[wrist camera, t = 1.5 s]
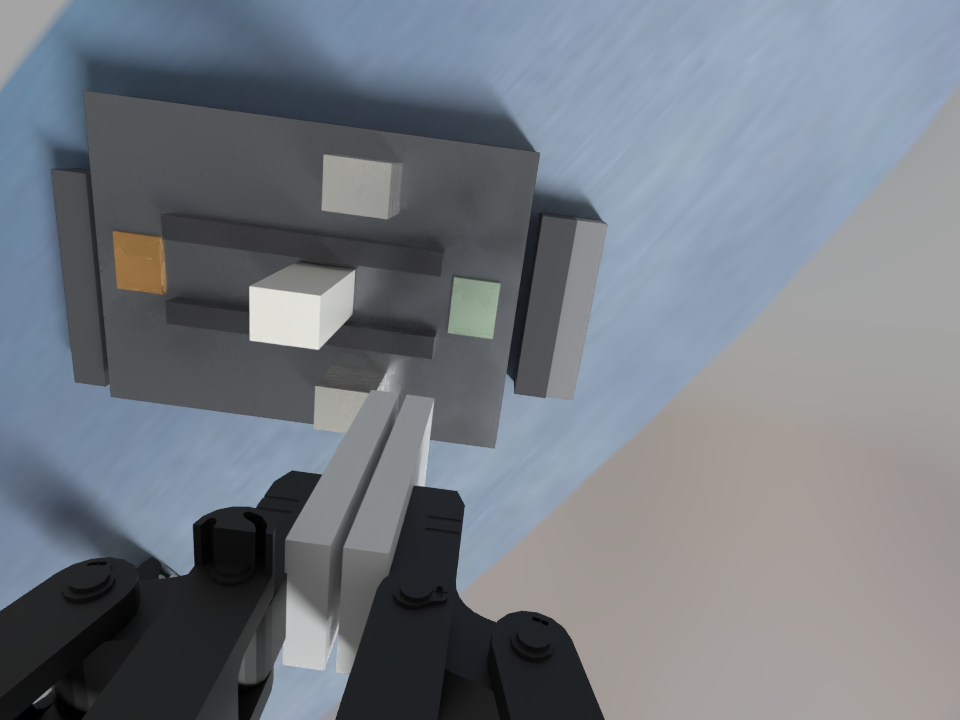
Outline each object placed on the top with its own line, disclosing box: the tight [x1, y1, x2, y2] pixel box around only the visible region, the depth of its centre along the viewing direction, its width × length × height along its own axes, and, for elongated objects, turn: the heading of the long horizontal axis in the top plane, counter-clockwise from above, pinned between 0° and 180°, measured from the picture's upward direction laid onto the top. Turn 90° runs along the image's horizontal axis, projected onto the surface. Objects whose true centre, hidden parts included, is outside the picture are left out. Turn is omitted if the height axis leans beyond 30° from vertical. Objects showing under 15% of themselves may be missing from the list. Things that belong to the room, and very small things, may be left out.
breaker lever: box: [249, 262, 355, 350], centre depth 28 cm, size 3×2×6 cm
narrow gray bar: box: [514, 213, 608, 400], centre depth 33 cm, size 3×10×2 cm, turn 173°
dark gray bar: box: [51, 168, 110, 386], centre depth 33 cm, size 2×12×2 cm, turn 173°
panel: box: [83, 91, 540, 448], centre depth 31 cm, size 22×16×6 cm
